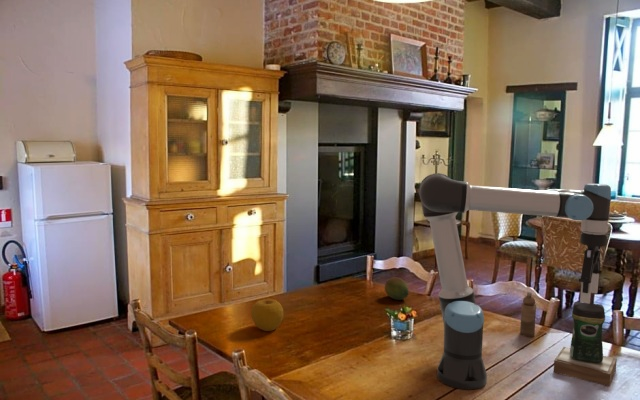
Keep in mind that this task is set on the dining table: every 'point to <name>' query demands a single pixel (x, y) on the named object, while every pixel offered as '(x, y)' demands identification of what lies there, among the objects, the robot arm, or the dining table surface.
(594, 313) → the coffee jar
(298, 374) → the dining table surface
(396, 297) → the fruit
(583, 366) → the plinth
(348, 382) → the dining table surface
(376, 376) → the dining table surface
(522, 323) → the pepper mill
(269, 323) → the apple
